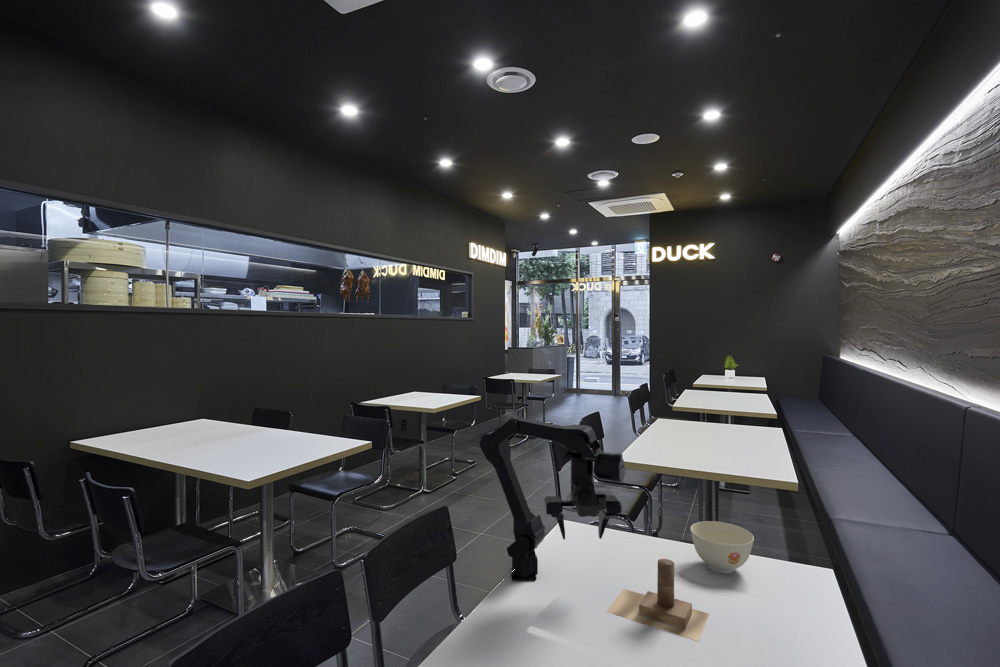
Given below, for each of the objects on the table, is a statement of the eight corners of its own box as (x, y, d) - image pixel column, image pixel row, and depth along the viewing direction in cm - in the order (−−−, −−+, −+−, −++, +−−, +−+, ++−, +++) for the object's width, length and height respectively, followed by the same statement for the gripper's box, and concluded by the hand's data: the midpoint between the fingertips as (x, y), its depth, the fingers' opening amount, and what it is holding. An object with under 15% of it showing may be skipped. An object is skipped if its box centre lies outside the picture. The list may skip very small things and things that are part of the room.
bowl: (749, 560, 143) (749, 525, 143) (757, 587, 128) (758, 548, 128) (689, 551, 148) (689, 518, 148) (691, 576, 133) (691, 539, 133)
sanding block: (639, 615, 113) (639, 562, 113) (647, 601, 119) (648, 551, 119) (685, 630, 108) (685, 574, 108) (691, 614, 114) (692, 561, 114)
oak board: (606, 615, 115) (606, 611, 115) (623, 592, 125) (623, 588, 125) (698, 646, 104) (698, 641, 104) (709, 618, 114) (709, 613, 114)
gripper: (549, 487, 117) (549, 553, 117) (628, 486, 118) (628, 552, 118) (543, 473, 128) (543, 534, 129) (615, 472, 129) (615, 532, 129)
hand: (582, 538), depth 126 cm, fingers open, 9 cm apart
